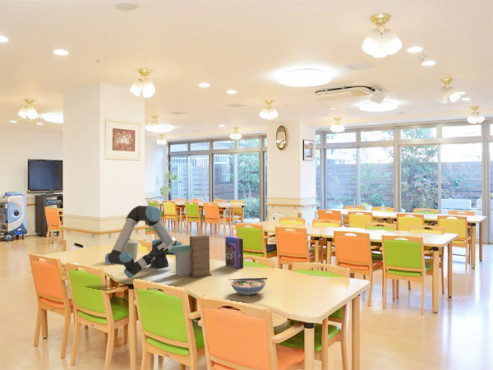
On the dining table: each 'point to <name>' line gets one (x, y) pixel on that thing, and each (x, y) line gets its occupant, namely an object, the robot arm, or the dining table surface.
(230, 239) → the cereal box
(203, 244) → the pedestal
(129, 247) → the canister
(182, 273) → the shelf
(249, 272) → the dining table surface
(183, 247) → the mint green bar
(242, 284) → the ramen bowl
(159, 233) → the robot arm
